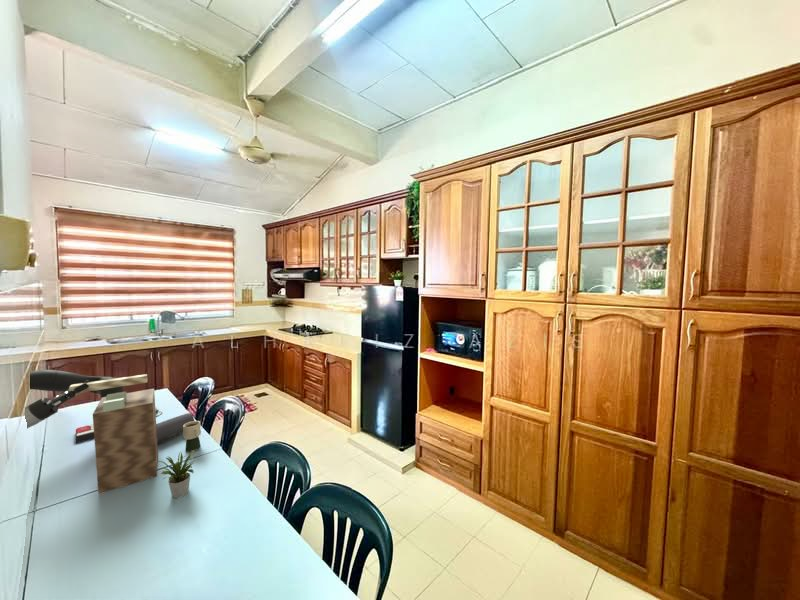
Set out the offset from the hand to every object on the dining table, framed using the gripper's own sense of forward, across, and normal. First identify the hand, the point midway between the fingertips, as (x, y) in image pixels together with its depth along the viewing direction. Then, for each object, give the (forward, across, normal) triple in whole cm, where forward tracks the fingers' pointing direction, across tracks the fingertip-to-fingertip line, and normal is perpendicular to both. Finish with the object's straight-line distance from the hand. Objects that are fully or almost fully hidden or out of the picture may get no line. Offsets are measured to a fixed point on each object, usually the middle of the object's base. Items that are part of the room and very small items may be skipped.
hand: (88, 383), depth 128 cm
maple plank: (+4, 0, +6) cm, 7 cm away
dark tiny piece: (-14, +68, +40) cm, 80 cm away
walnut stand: (-10, -3, +41) cm, 43 cm away
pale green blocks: (+3, -8, +12) cm, 15 cm away
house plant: (+3, -34, +49) cm, 60 cm away
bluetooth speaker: (+1, +23, +48) cm, 53 cm away
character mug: (+10, +2, +53) cm, 54 cm away
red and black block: (-29, +55, +31) cm, 70 cm away
